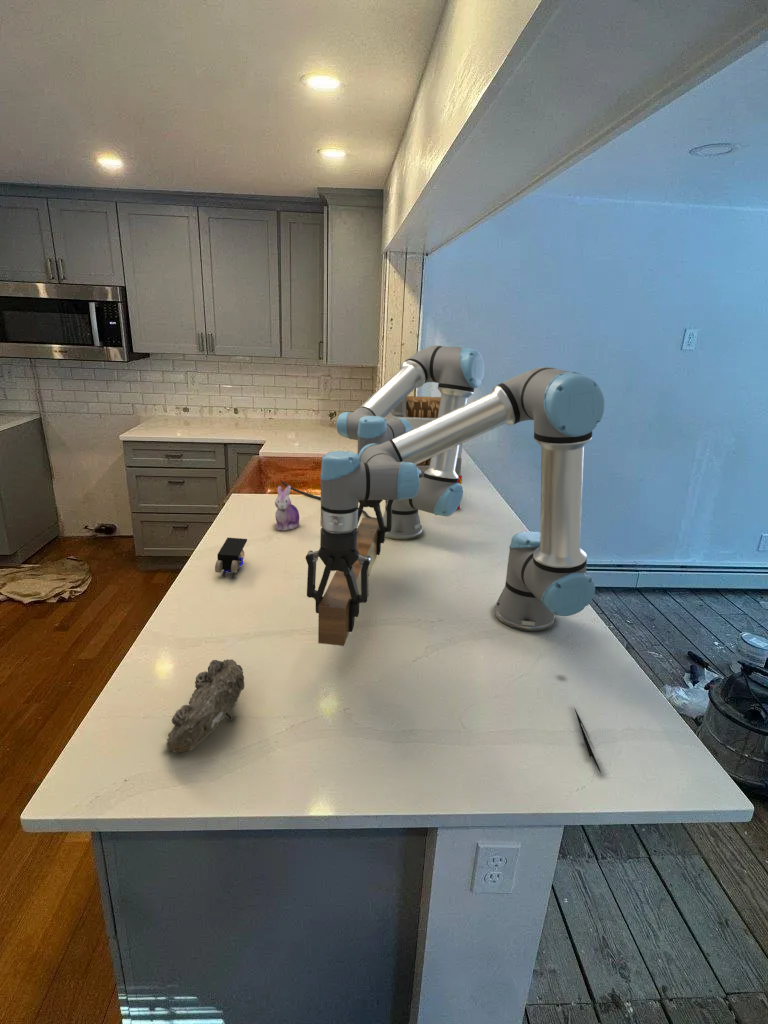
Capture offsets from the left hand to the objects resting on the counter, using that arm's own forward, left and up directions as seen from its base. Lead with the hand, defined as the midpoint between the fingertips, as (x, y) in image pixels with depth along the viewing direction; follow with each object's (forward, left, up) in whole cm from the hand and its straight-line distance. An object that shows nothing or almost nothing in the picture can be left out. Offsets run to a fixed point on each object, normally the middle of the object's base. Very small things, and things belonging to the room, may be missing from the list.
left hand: (367, 552), depth 162 cm
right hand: (+28, -31, 0) cm, 42 cm away
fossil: (+28, -60, -9) cm, 67 cm away
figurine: (-49, +3, -9) cm, 50 cm away
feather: (+72, -5, -9) cm, 73 cm away
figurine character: (-28, -28, -9) cm, 41 cm away
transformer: (-74, +93, -9) cm, 119 cm away
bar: (+14, -16, 0) cm, 21 cm away
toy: (-40, +74, -9) cm, 85 cm away
